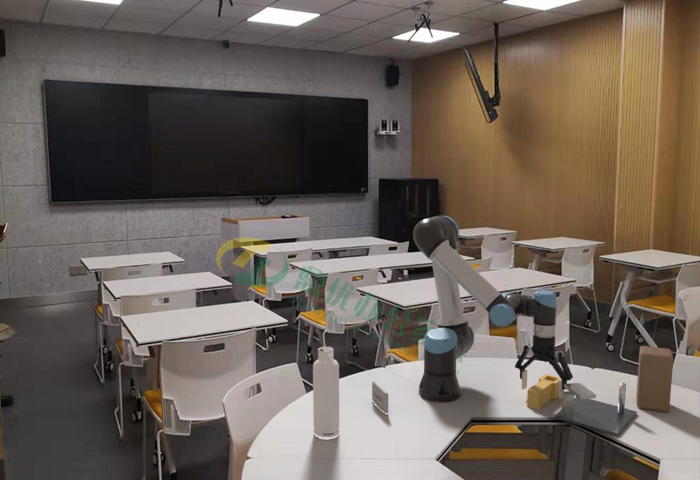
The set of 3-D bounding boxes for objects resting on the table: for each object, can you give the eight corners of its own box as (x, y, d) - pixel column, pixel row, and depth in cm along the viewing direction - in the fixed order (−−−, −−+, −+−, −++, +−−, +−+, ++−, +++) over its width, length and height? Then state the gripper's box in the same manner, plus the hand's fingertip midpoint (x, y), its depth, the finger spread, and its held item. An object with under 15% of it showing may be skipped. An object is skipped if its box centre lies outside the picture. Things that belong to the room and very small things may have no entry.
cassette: (389, 415, 199) (389, 393, 198) (384, 416, 198) (384, 394, 197) (375, 401, 210) (375, 380, 209) (370, 402, 209) (370, 381, 208)
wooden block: (667, 402, 208) (671, 348, 205) (669, 413, 199) (673, 357, 196) (636, 397, 212) (639, 344, 209) (636, 408, 203) (640, 353, 200)
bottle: (330, 442, 180) (329, 355, 175) (308, 436, 184) (307, 350, 180) (344, 432, 186) (343, 347, 182) (323, 426, 191) (322, 343, 187)
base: (554, 418, 196) (556, 386, 194) (577, 398, 211) (579, 369, 210) (617, 436, 183) (619, 403, 181) (636, 414, 198) (639, 383, 197)
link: (544, 389, 219) (545, 374, 219) (561, 393, 215) (562, 378, 214) (523, 405, 206) (524, 388, 205) (541, 410, 202) (542, 393, 201)
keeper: (577, 411, 201) (579, 382, 199) (594, 424, 191) (596, 394, 190) (556, 412, 200) (557, 384, 198) (571, 426, 190) (573, 396, 188)
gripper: (506, 331, 211) (505, 387, 214) (575, 344, 194) (573, 405, 197) (515, 326, 216) (514, 381, 219) (583, 338, 200) (581, 398, 203)
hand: (542, 392), depth 208 cm, fingers open, 13 cm apart
